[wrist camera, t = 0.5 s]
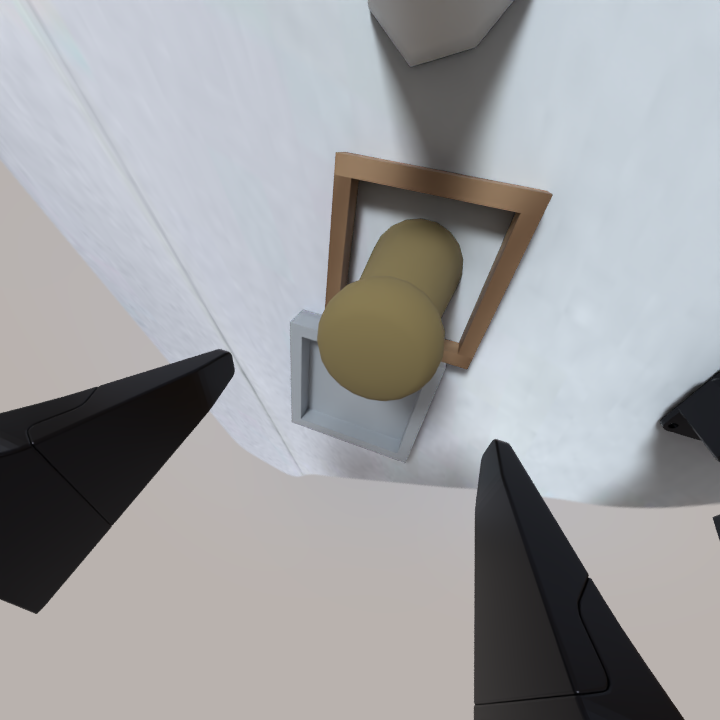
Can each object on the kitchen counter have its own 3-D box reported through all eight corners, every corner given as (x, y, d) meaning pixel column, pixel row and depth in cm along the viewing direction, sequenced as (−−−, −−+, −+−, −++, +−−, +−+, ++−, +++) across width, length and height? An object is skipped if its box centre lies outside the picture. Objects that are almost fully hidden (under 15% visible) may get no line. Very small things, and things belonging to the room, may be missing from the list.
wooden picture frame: (546, 190, 15) (552, 194, 14) (467, 357, 22) (467, 369, 20) (345, 152, 16) (335, 152, 15) (331, 317, 23) (323, 326, 22)
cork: (415, 325, 21) (377, 442, 13) (354, 270, 20) (269, 357, 12) (484, 266, 18) (494, 376, 9) (413, 194, 17) (351, 244, 8)
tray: (447, 351, 22) (445, 368, 20) (409, 444, 29) (405, 462, 28) (302, 309, 24) (290, 322, 22) (301, 407, 31) (291, 422, 30)
